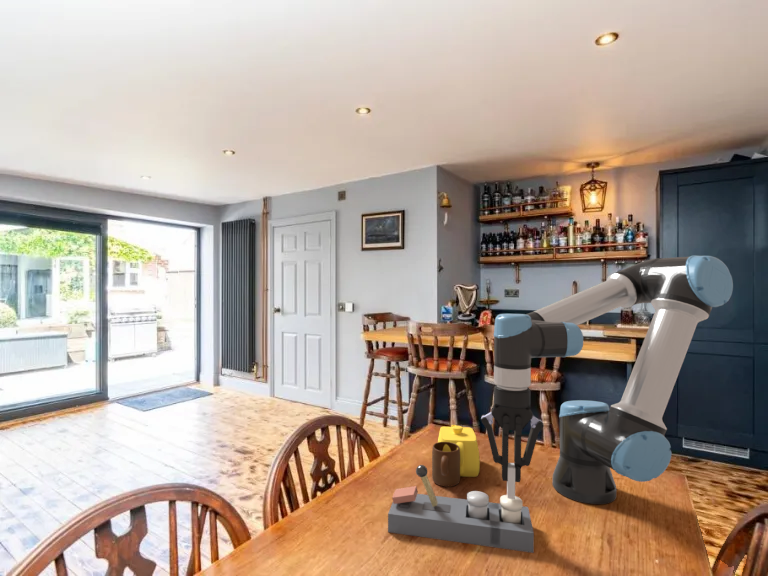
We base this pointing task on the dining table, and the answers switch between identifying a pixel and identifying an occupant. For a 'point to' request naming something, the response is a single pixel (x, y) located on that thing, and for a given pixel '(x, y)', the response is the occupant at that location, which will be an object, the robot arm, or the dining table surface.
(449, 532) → the console
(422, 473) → the lever
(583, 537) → the dining table surface
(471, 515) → the button
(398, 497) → the rocker
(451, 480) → the mug
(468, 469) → the teapot
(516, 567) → the dining table surface
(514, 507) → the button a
